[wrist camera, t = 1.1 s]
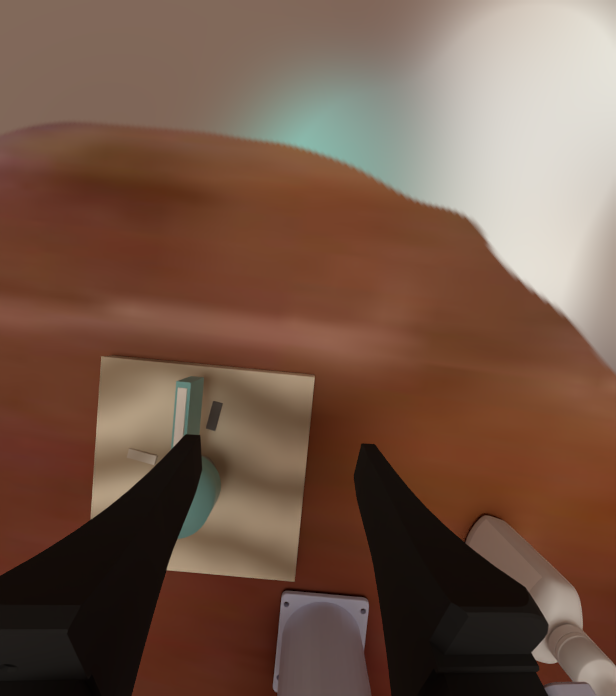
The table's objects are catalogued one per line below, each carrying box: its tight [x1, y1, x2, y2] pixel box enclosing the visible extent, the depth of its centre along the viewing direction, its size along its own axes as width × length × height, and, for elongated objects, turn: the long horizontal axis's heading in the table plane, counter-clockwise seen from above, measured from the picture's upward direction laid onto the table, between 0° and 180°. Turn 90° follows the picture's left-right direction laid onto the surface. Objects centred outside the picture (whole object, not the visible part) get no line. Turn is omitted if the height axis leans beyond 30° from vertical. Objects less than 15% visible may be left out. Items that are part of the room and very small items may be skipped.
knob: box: [171, 376, 221, 539], centre depth 21 cm, size 11×5×3 cm, turn 174°
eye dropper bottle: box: [465, 515, 616, 696], centre depth 21 cm, size 4×6×12 cm
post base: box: [91, 355, 315, 582], centre depth 25 cm, size 18×18×4 cm
